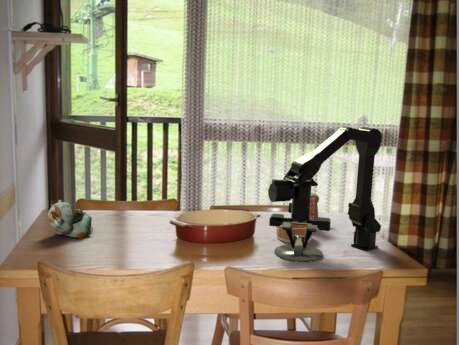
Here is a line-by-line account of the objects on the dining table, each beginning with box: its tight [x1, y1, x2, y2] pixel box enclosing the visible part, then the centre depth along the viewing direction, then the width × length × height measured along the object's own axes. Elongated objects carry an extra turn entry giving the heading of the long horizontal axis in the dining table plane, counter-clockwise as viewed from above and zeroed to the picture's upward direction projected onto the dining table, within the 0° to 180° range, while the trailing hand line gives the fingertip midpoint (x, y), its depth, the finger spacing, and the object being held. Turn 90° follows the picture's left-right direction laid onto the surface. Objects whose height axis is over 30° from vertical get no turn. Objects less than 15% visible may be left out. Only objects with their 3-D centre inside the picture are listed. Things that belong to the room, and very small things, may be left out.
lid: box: [274, 235, 323, 263], centre depth 166 cm, size 15×15×6 cm
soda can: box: [309, 192, 315, 220], centre depth 196 cm, size 7×7×13 cm
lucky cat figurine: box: [47, 199, 94, 240], centre depth 178 cm, size 15×12×14 cm
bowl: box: [275, 221, 314, 244], centre depth 183 cm, size 12×12×5 cm
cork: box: [313, 193, 320, 220], centre depth 205 cm, size 6×6×11 cm
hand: (298, 248), depth 166 cm, fingers closed on lid, 3 cm apart
